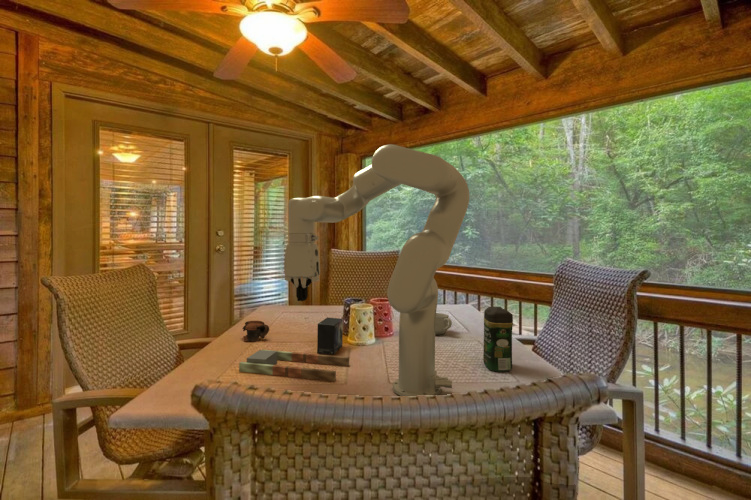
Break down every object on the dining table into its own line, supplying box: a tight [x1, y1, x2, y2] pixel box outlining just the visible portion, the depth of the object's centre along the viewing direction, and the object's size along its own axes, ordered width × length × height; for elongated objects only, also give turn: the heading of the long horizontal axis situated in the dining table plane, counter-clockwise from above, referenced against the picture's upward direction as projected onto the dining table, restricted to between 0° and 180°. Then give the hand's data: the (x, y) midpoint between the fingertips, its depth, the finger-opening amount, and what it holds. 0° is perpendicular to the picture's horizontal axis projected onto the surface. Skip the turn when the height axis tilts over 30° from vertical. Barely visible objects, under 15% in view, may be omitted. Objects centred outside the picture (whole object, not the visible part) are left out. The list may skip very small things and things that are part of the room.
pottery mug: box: [242, 320, 270, 343], centre depth 147 cm, size 12×10×8 cm
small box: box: [316, 317, 344, 356], centre depth 133 cm, size 11×6×10 cm, turn 168°
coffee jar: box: [482, 306, 514, 373], centre depth 116 cm, size 10×8×19 cm
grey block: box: [246, 349, 278, 365], centre depth 116 cm, size 6×8×4 cm
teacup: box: [435, 312, 453, 336], centre depth 155 cm, size 14×11×8 cm
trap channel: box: [238, 349, 350, 382], centre depth 115 cm, size 30×13×2 cm, turn 76°
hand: (302, 300), depth 114 cm, fingers closed
